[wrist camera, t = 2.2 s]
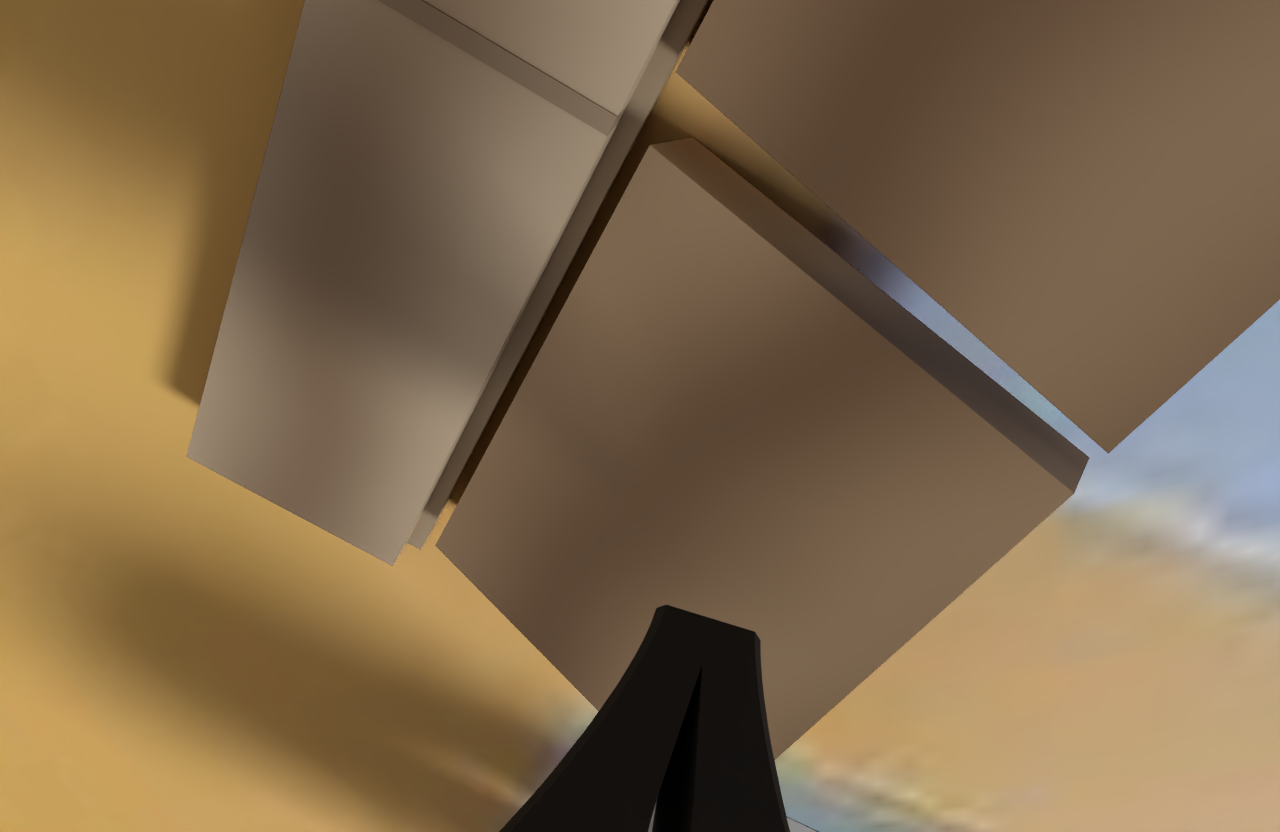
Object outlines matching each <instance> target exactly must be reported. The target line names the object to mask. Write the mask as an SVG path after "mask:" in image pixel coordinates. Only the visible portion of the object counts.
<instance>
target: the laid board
mask: <svg viewBox="0 0 1280 832" xmlns="http://www.w3.org/2000/svg"><path fill="white" fill-rule="evenodd" d="M708 2H709V0H305V2H304V6H303V10H302V14H301V18H300V21H299V25H298V29H297V33H296V37H295V41H294V44H293V48H292V52H291V56H290V60H289V64H288V68H287V71H286V75H285V79H284V83H283V87H282V91H281V95H280V98H279V102H278V106H277V110H276V114H275V118H274V122H273V125H272V129H271V133H270V137H269V141H268V145H267V149H266V152H265V156H264V160H263V164H262V168H261V172H260V176H259V179H258V183H257V187H256V191H255V195H254V199H253V203H252V206H251V210H250V214H249V218H248V222H247V226H246V229H245V233H244V237H243V241H242V245H241V249H240V253H239V256H238V260H237V264H236V268H235V272H234V276H233V280H232V283H231V287H230V291H229V295H228V299H227V303H226V307H225V310H224V314H223V318H222V322H221V326H220V330H219V334H218V337H217V341H216V345H215V349H214V353H213V357H212V361H211V364H210V368H209V372H208V376H207V380H206V384H205V388H204V391H203V395H202V399H201V403H200V407H199V411H198V414H197V418H196V422H195V426H194V430H193V434H192V438H191V441H190V445H189V449H188V453H187V457H188V458H190V459H192V460H194V461H195V462H197V463H199V464H201V465H203V466H205V467H207V468H209V469H210V470H212V471H214V472H216V473H218V474H220V475H222V476H224V477H226V478H227V479H229V480H231V481H233V482H235V483H237V484H239V485H241V486H243V487H244V488H246V489H248V490H250V491H252V492H254V493H256V494H258V495H259V496H261V497H263V498H265V499H267V500H269V501H271V502H273V503H275V504H276V505H278V506H280V507H282V508H284V509H286V510H288V511H290V512H292V513H293V514H295V515H297V516H299V517H301V518H303V519H305V520H307V521H308V522H310V523H312V524H314V525H316V526H318V527H320V528H322V529H324V530H325V531H327V532H329V533H331V534H333V535H335V536H337V537H339V538H341V539H342V540H344V541H346V542H348V543H350V544H352V545H354V546H356V547H357V548H359V549H361V550H363V551H365V552H367V553H369V554H371V555H373V556H374V557H376V558H378V559H380V560H382V561H384V562H386V563H388V564H389V565H391V566H392V565H393V564H394V562H395V561H396V559H397V558H398V556H399V554H400V553H401V551H402V550H403V548H404V547H405V545H406V543H409V544H411V545H413V546H415V547H416V548H418V549H421V548H422V546H423V544H424V543H425V541H426V540H427V538H428V536H429V535H430V533H431V531H432V529H433V527H434V525H435V523H436V522H437V520H438V518H439V516H440V514H441V512H442V510H443V508H444V506H445V504H446V502H447V501H448V499H449V497H450V495H451V493H452V491H453V489H454V487H455V485H456V483H457V481H458V480H459V478H460V476H461V474H462V472H463V470H464V468H465V466H466V464H467V462H468V460H469V459H470V457H471V455H472V453H473V451H474V449H475V447H476V445H477V443H478V441H479V439H480V438H481V436H482V434H483V432H484V430H485V428H486V426H487V424H488V422H489V420H490V418H491V416H492V415H493V413H494V411H495V409H496V407H497V405H498V403H499V401H500V399H501V397H502V395H503V394H504V392H505V390H506V388H507V386H508V384H509V382H510V380H511V378H512V376H513V374H514V373H515V371H516V369H517V367H518V365H519V363H520V361H521V359H522V357H523V355H524V353H525V352H526V350H527V348H528V346H529V344H530V342H531V340H532V338H533V336H534V334H535V332H536V331H537V329H538V327H539V325H540V323H541V321H542V319H543V317H544V315H545V313H546V311H547V310H548V308H549V306H550V304H551V302H552V300H553V298H554V296H555V294H556V292H557V290H558V288H559V287H560V285H561V283H562V281H563V279H564V277H565V275H566V273H567V271H568V269H569V267H570V266H571V264H572V262H573V260H574V258H575V256H576V254H577V252H578V250H579V248H580V246H581V245H582V243H583V241H584V239H585V237H586V235H587V233H588V231H589V229H590V227H591V225H592V224H593V222H594V220H595V218H596V216H597V214H598V212H599V210H600V208H601V206H602V204H603V203H604V201H605V199H606V197H607V195H608V193H609V191H610V189H611V187H612V185H613V183H614V182H615V180H616V178H617V176H618V174H619V172H620V170H621V168H622V166H623V164H624V162H625V160H626V159H627V157H628V155H629V153H630V151H631V149H632V147H633V145H634V143H635V141H636V139H637V138H638V136H639V134H640V132H641V130H642V128H643V126H644V124H645V122H646V120H647V118H648V117H649V115H650V113H651V111H652V109H653V107H654V105H655V103H656V101H657V99H658V97H659V96H660V94H661V92H662V90H663V88H664V86H665V84H666V82H667V80H668V78H669V76H670V75H671V73H672V71H673V69H674V67H675V65H676V63H677V61H678V59H679V57H680V55H681V54H682V52H683V50H684V48H685V46H686V44H687V42H688V40H689V38H690V36H691V34H692V32H693V31H694V29H695V27H696V25H697V23H698V21H699V19H700V17H701V15H702V13H703V11H704V10H705V8H706V6H707V4H708Z"/></svg>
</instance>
